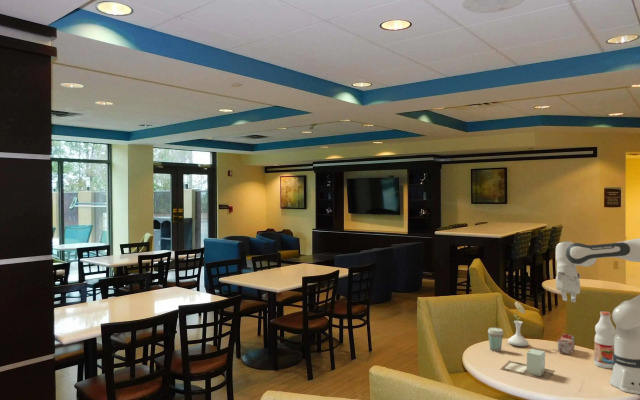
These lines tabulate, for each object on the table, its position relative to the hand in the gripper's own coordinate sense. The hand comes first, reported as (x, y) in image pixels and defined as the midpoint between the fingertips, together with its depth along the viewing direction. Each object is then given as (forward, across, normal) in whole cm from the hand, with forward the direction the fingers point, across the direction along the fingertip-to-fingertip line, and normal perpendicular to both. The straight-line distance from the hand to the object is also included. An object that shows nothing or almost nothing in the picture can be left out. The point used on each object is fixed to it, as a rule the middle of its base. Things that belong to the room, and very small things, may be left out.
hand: (569, 301), depth 228 cm
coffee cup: (+26, +12, +47) cm, 55 cm away
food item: (+24, +41, +20) cm, 52 cm away
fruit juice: (+30, +35, -1) cm, 46 cm away
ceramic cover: (+35, -5, +17) cm, 39 cm away
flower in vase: (+22, +31, +44) cm, 58 cm away
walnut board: (+35, -5, +21) cm, 41 cm away
